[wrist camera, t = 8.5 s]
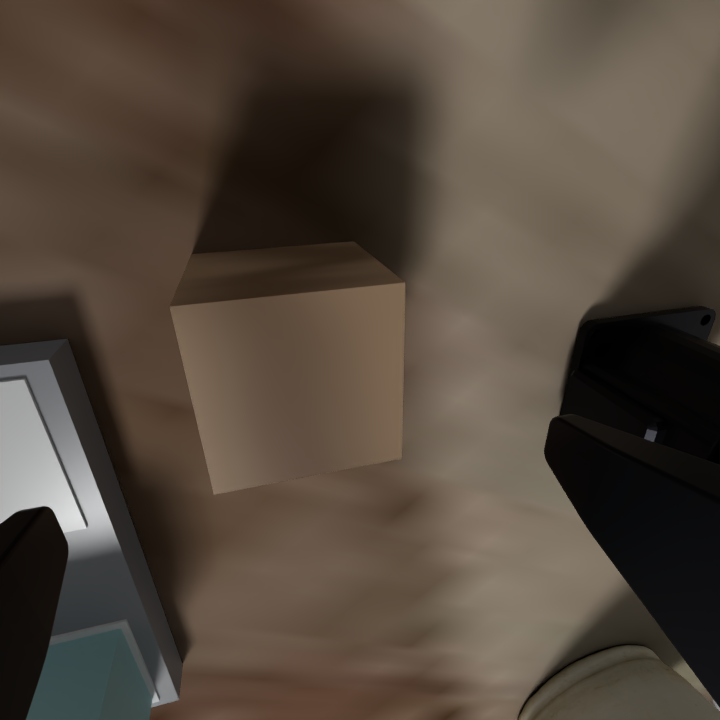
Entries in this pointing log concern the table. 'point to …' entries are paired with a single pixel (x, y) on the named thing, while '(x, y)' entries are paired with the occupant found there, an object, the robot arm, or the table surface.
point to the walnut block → (292, 360)
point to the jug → (619, 690)
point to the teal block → (91, 681)
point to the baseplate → (80, 508)
